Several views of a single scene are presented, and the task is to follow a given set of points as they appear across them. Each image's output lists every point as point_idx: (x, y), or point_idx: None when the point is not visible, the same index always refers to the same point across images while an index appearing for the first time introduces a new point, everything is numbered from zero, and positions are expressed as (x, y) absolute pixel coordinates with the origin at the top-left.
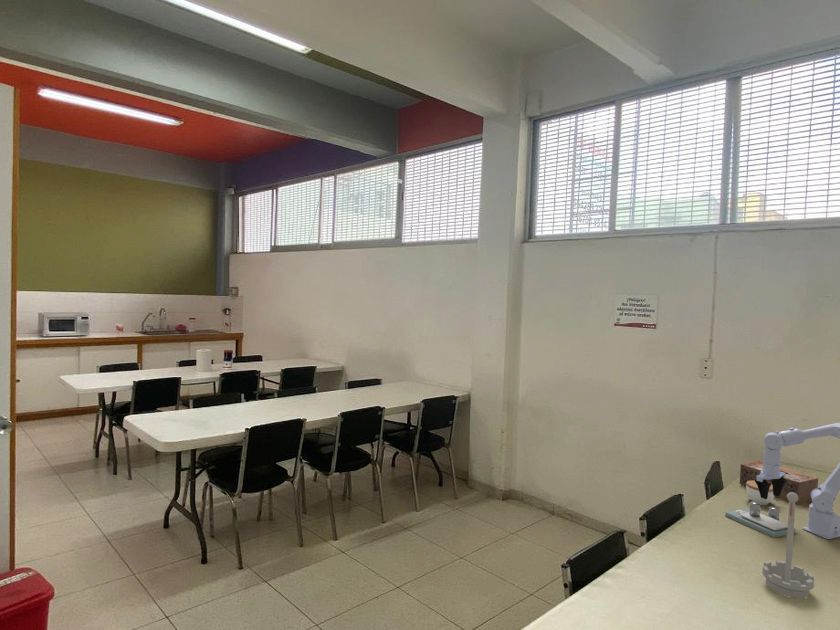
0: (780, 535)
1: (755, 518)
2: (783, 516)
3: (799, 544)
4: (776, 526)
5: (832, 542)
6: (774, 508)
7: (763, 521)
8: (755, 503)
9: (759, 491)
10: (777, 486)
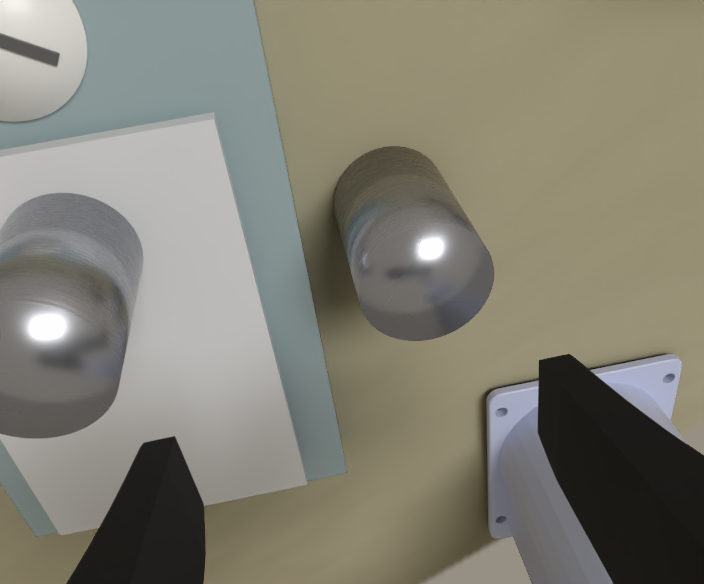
0: None
1: None
2: (634, 115)
3: None
4: None
5: (476, 552)
6: (427, 289)
7: None
8: (21, 390)
9: (92, 543)
10: (643, 580)
